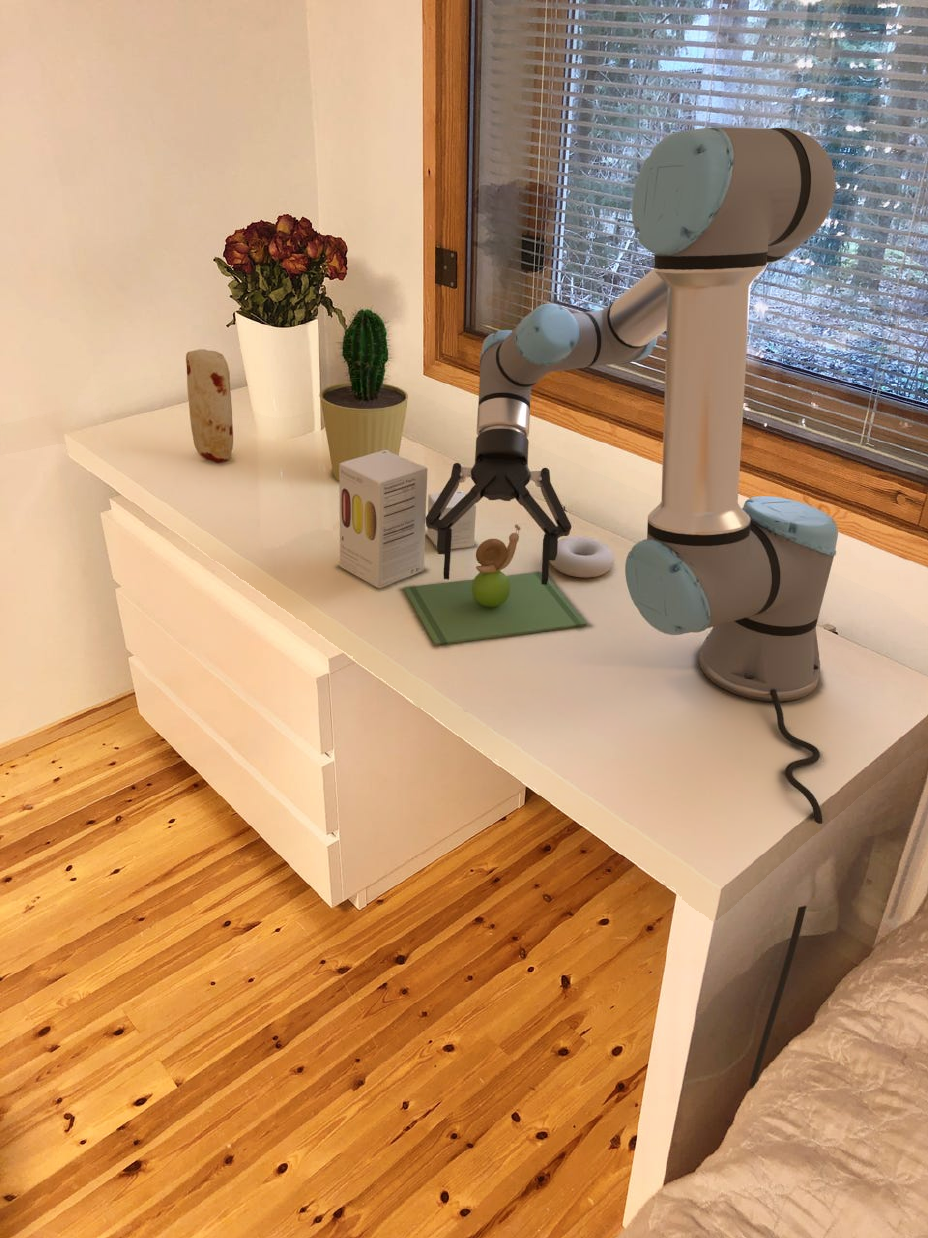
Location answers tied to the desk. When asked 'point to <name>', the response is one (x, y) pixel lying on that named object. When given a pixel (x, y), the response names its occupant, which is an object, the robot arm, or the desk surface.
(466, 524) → the product box
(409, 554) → the supplement box
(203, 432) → the food model
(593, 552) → the donut
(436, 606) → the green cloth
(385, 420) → the potted cactus
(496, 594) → the snail figurine
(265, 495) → the desk surface
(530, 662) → the desk surface
